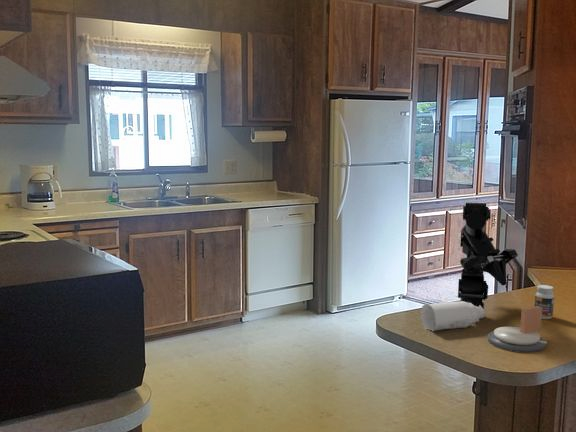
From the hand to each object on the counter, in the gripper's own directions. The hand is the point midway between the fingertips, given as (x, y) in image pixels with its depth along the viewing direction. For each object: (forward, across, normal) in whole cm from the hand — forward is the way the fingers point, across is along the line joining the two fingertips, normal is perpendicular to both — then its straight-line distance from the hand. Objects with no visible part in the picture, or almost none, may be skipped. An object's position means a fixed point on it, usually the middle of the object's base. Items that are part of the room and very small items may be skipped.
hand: (504, 284), depth 182 cm
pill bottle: (+10, -20, -9) cm, 25 cm away
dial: (+16, +7, +1) cm, 17 cm away
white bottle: (+5, +13, -16) cm, 21 cm away
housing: (+17, +8, 0) cm, 19 cm away
